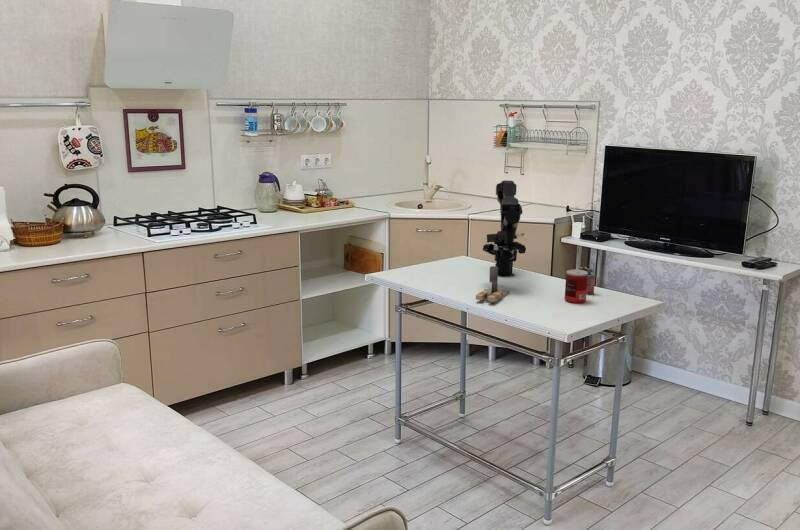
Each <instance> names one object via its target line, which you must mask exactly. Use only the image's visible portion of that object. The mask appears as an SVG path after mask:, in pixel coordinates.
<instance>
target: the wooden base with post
mask: <svg viewBox="0 0 800 530" xmlns="http://www.w3.org/2000/svg"><path fill="white" fill-rule="evenodd" d="M498 278H499V275H498V267H496V266H495V265H494V266H490V267H489V279H488V280H489V282H491V283H492V290H491V295H490V296H489V297H488V301H491V302H495V301H496V300H497V299H499V298H500V297H502V296H503V291H498V290H497V289H498V284H499V283H498ZM486 297H487V288H484V289H483V290H482V291H480V292H478V293H477V294H475V300H476V301H477V300H479V301H480V300H483V299H484V298H486Z"/></svg>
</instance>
